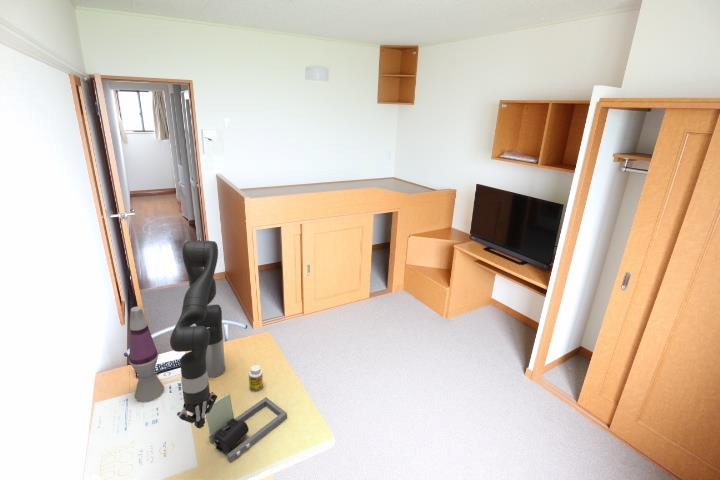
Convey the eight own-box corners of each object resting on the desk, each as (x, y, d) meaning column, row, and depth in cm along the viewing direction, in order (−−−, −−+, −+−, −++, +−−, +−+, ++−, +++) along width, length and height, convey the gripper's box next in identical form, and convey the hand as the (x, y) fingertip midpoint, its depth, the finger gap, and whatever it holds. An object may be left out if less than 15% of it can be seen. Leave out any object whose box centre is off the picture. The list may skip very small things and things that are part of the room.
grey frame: (209, 441, 136) (209, 436, 135) (266, 401, 155) (266, 396, 154) (231, 463, 128) (231, 458, 128) (288, 418, 148) (288, 413, 147)
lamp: (162, 399, 153) (149, 314, 139) (132, 404, 149) (116, 317, 135) (165, 381, 162) (153, 299, 148) (137, 385, 158) (122, 303, 144)
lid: (211, 437, 134) (209, 436, 135) (234, 421, 142) (232, 419, 142) (205, 409, 131) (203, 407, 132) (229, 393, 139) (227, 392, 139)
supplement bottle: (249, 392, 159) (248, 373, 156) (249, 383, 164) (248, 364, 161) (262, 391, 160) (262, 371, 157) (262, 382, 165) (262, 363, 162)
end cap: (229, 457, 130) (228, 443, 128) (214, 449, 133) (212, 434, 131) (249, 436, 139) (248, 422, 137) (234, 428, 142) (233, 415, 139)
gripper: (208, 367, 123) (212, 408, 129) (167, 389, 113) (174, 432, 119) (221, 378, 119) (224, 420, 125) (181, 401, 109) (186, 446, 115)
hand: (200, 426), depth 122 cm, fingers closed
